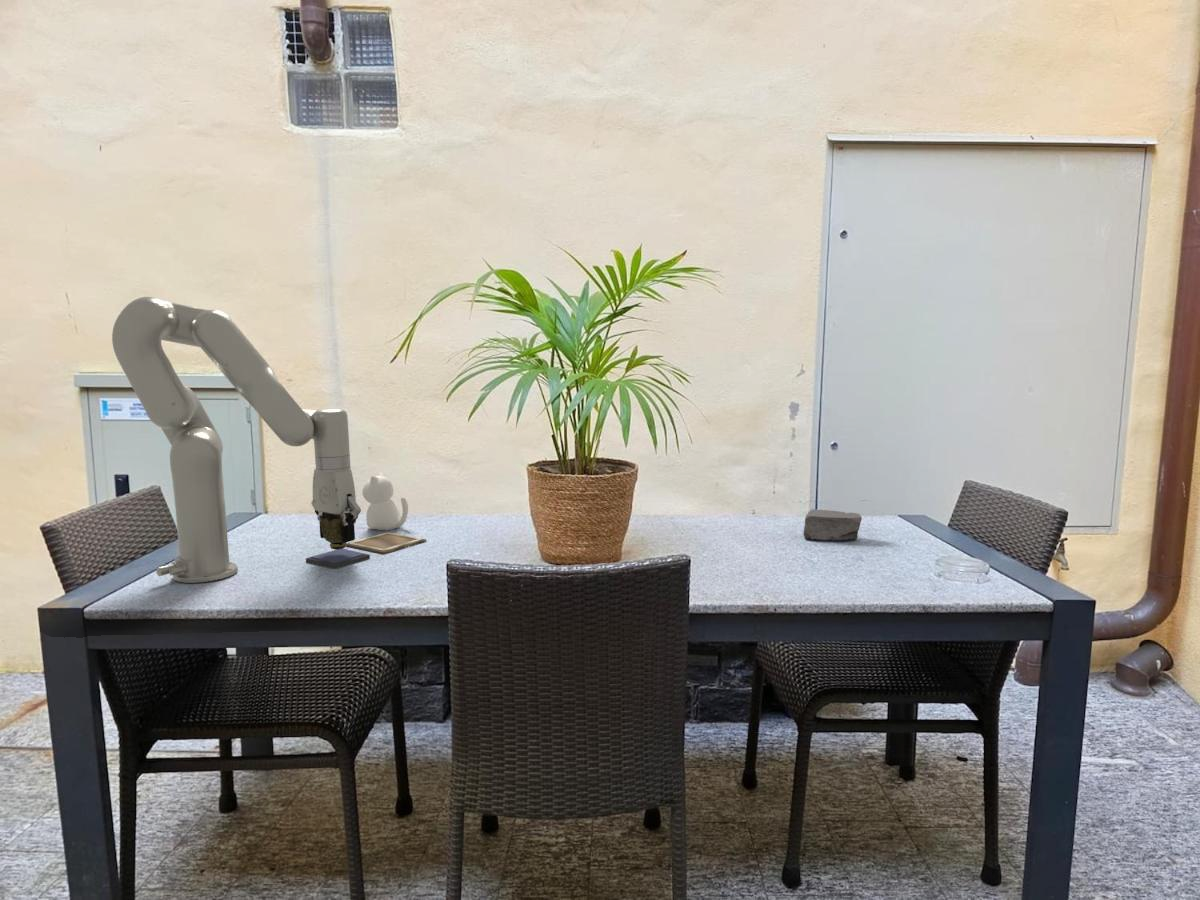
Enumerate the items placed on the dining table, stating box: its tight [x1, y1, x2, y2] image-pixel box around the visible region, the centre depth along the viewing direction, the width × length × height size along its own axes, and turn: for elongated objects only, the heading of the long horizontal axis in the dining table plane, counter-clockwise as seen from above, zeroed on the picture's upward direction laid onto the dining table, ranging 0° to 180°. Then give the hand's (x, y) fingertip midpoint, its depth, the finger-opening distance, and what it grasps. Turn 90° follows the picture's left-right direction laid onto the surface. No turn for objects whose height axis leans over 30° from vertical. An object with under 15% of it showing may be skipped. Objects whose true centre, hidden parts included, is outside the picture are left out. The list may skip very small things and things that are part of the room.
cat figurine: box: [362, 471, 409, 531], centre depth 209 cm, size 9×12×15 cm
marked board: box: [346, 531, 427, 555], centre depth 194 cm, size 14×14×1 cm
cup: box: [319, 513, 348, 550], centre depth 179 cm, size 8×7×8 cm
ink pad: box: [305, 548, 371, 570], centre depth 180 cm, size 10×10×1 cm
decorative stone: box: [803, 508, 863, 543], centre depth 198 cm, size 15×7×10 cm
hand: (337, 538), depth 179 cm, fingers closed on cup, 7 cm apart
